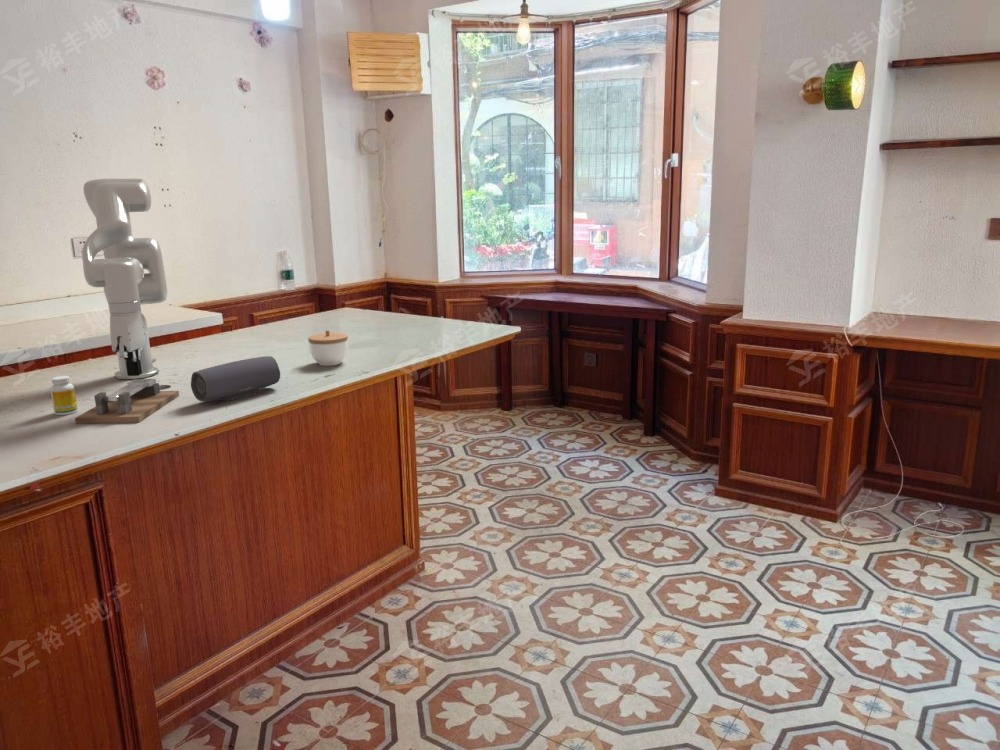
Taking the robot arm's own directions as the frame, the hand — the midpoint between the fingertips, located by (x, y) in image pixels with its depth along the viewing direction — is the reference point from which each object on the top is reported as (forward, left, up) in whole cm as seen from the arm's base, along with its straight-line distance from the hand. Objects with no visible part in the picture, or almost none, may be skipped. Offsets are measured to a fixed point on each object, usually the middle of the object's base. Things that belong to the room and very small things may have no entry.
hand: (135, 374), depth 199 cm
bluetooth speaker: (-5, +25, -8) cm, 27 cm away
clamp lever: (+4, 0, -4) cm, 6 cm away
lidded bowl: (-43, +43, -8) cm, 61 cm away
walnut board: (+5, 0, -8) cm, 10 cm away
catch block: (-4, 0, -7) cm, 8 cm away
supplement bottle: (+7, -16, -8) cm, 19 cm away
